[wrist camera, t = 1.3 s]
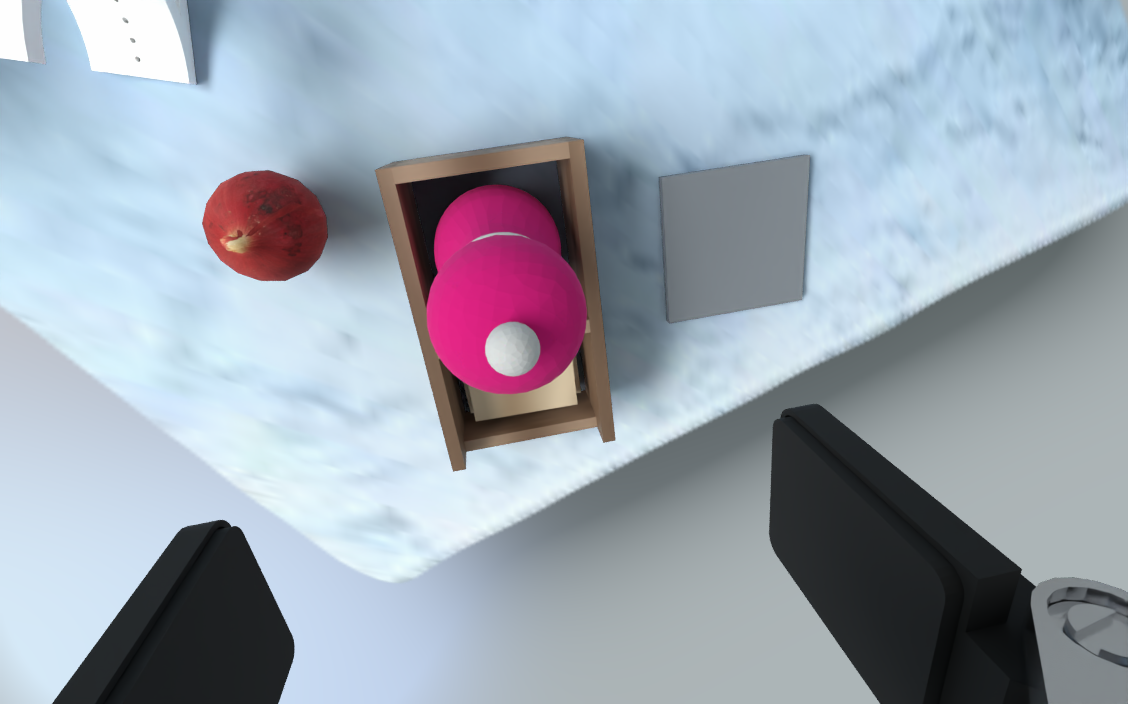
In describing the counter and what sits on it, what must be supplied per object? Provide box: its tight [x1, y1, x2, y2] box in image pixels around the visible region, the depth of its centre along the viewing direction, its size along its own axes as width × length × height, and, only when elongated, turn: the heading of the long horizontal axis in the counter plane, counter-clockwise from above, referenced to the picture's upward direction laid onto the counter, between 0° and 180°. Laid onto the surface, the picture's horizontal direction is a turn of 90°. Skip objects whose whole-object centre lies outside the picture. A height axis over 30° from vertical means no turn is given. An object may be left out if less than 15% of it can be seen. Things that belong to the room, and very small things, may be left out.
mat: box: [659, 155, 810, 323], centre depth 37 cm, size 10×10×1 cm
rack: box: [375, 137, 615, 471], centre depth 34 cm, size 11×18×6 cm, turn 7°
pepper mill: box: [427, 184, 587, 394], centre depth 26 cm, size 7×7×20 cm
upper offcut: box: [468, 360, 577, 421], centre depth 36 cm, size 7×5×2 cm
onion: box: [202, 170, 328, 281], centre depth 29 cm, size 6×6×8 cm
